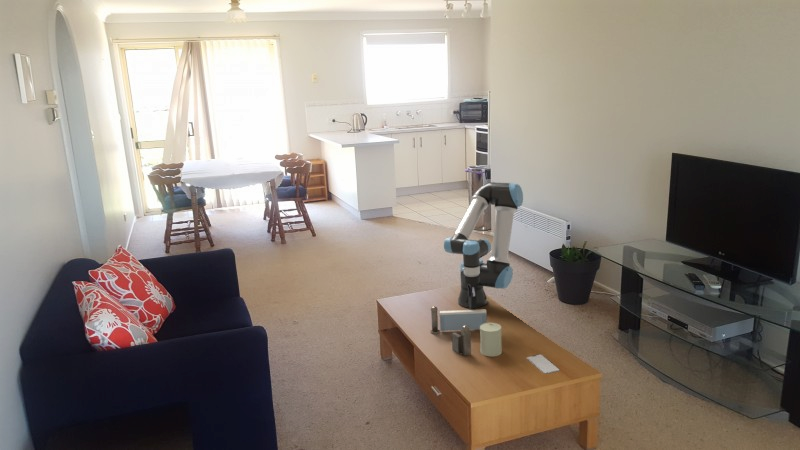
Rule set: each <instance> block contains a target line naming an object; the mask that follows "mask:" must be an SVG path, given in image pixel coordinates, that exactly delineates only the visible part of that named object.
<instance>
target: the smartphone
mask: <svg viewBox="0 0 800 450" xmlns="http://www.w3.org/2000/svg"><path fill="white" fill-rule="evenodd" d="M526 360H528V361H529V362H530V363H531V364H532V365H533V366H534V367H536V368H537V369H538V371H540V372H541V373H542V374H544V375H545V374H546V375H547V374H552V373H556V372H560V368H559V367H557V365H555V364H554V363H552V362H551V361H550V360H549V359H548V358H547V357H545V356H544V355H543V354H541V353H540V354H536V355H529V356H527V357H526Z"/></svg>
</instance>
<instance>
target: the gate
mask: <svg viewBox="0 0 800 450" xmlns="http://www.w3.org/2000/svg"><path fill="white" fill-rule="evenodd" d="M484 323H488V322H487V309H486V308H485V309H483V308H482V309H476V310H469V309H464V310H463V309H462V310H458V309H457V310H440V311H439V325H440V326H439V327H440V328H439V330H440V332H442V331H443V332H445V331H461V330H462V327H463V326H464V325H467V326H468V327H469V328H470V331H471V330H480V326H481V325H482V324H484Z"/></svg>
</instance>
